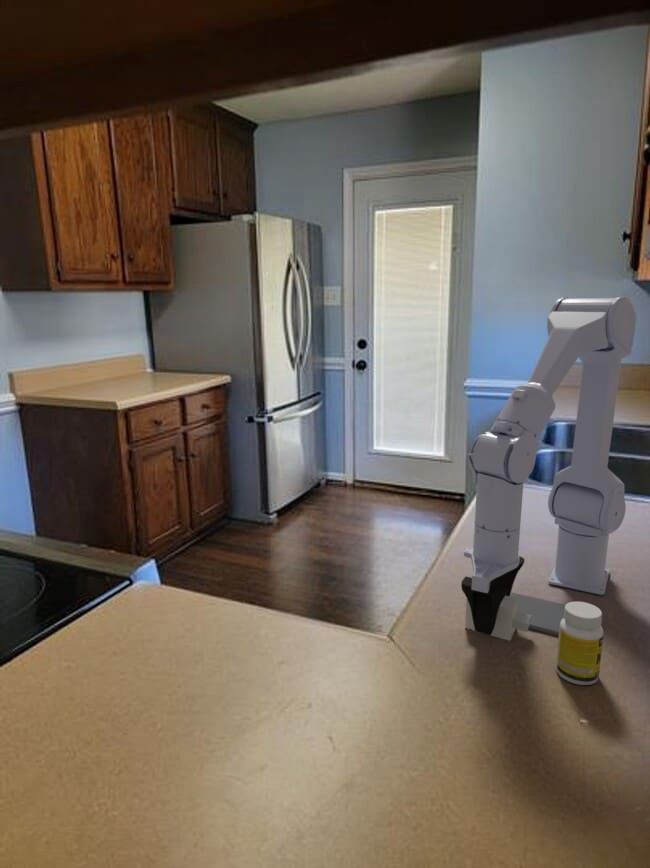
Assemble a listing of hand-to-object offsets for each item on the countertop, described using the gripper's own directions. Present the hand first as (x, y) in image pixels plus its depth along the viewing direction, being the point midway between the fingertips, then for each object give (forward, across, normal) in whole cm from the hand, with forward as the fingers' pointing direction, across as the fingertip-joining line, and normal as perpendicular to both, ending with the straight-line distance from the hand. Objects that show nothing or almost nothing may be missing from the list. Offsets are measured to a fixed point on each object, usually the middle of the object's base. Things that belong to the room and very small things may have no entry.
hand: (491, 618), depth 79 cm
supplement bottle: (+2, +5, +12) cm, 13 cm away
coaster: (+1, -6, +4) cm, 8 cm away
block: (+2, 0, 0) cm, 2 cm away
